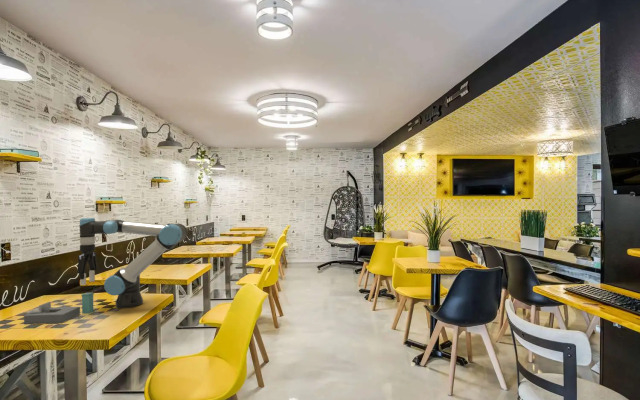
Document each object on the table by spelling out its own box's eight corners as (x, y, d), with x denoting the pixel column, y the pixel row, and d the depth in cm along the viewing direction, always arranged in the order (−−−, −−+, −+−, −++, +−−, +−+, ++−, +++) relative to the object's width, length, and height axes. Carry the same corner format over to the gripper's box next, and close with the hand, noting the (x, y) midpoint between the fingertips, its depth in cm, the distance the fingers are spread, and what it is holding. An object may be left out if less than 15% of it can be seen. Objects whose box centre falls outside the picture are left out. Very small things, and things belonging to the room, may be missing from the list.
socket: (79, 314, 198) (79, 306, 198) (63, 322, 184) (63, 314, 184) (43, 315, 197) (43, 307, 197) (24, 324, 183) (24, 315, 183)
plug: (93, 311, 204) (93, 292, 204) (89, 313, 200) (89, 294, 200) (86, 311, 204) (86, 292, 204) (81, 313, 200) (81, 294, 200)
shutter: (51, 308, 194) (51, 301, 194) (41, 312, 186) (41, 305, 187) (37, 308, 194) (37, 302, 194) (26, 313, 186) (26, 306, 186)
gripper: (91, 242, 212) (91, 279, 212) (69, 246, 192) (69, 287, 192) (104, 242, 213) (104, 279, 213) (82, 246, 192) (83, 287, 192)
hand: (87, 282), depth 202 cm, fingers open, 8 cm apart
